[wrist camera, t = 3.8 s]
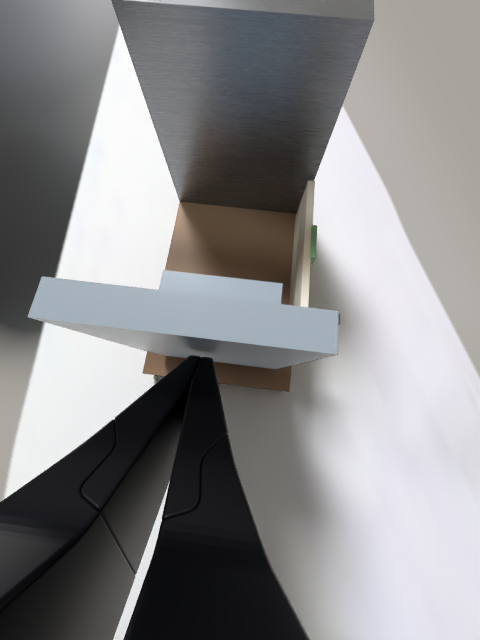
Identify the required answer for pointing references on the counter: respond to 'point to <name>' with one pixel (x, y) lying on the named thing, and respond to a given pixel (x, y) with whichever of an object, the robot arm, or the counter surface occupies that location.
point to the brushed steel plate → (244, 90)
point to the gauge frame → (244, 266)
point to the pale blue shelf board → (194, 318)
